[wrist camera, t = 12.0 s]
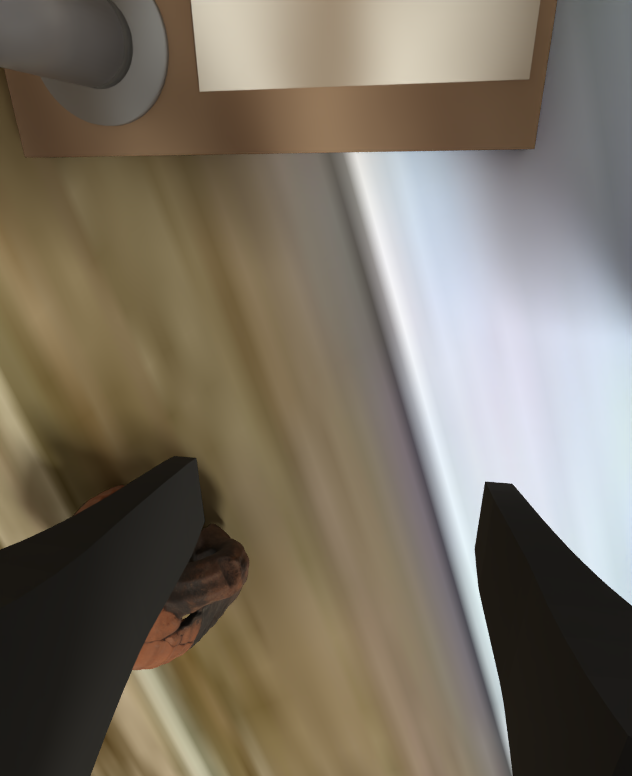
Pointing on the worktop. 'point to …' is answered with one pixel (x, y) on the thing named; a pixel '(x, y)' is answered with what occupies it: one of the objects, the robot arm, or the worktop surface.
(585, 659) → the robot arm
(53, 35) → the marker
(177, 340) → the worktop surface
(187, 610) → the reddish-brown lumpy part
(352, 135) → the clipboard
